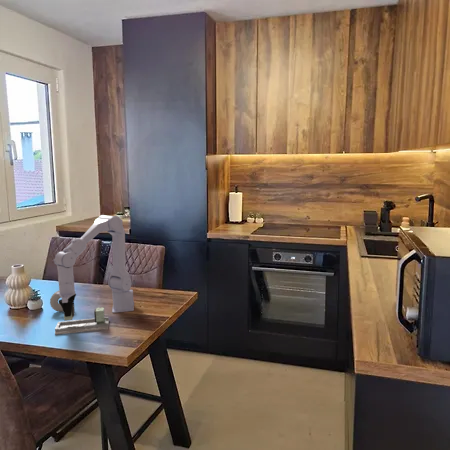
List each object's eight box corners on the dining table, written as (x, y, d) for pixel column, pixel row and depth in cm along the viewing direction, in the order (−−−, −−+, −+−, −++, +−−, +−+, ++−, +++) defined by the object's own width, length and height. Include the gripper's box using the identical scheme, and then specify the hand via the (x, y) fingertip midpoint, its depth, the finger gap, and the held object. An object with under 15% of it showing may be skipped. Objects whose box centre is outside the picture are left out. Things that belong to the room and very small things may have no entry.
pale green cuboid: (64, 320, 159) (63, 306, 158) (65, 317, 163) (64, 302, 162) (73, 319, 160) (72, 305, 159) (75, 316, 164) (74, 302, 163)
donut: (51, 314, 178) (49, 293, 176) (50, 312, 181) (48, 291, 179) (74, 310, 183) (73, 289, 181) (73, 308, 186) (71, 287, 184)
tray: (109, 320, 170) (107, 304, 169) (108, 329, 161) (106, 312, 160) (58, 325, 165) (57, 309, 164) (55, 334, 157) (53, 317, 156)
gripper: (58, 277, 165) (61, 308, 167) (52, 287, 151) (55, 322, 153) (76, 276, 167) (78, 307, 169) (72, 286, 153) (74, 320, 155)
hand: (68, 314), depth 161 cm, fingers closed on pale green cuboid, 4 cm apart
